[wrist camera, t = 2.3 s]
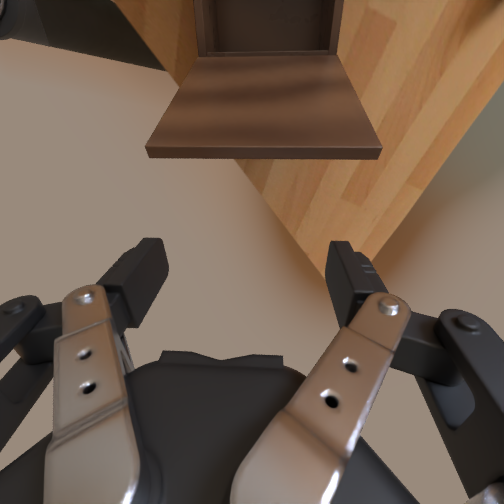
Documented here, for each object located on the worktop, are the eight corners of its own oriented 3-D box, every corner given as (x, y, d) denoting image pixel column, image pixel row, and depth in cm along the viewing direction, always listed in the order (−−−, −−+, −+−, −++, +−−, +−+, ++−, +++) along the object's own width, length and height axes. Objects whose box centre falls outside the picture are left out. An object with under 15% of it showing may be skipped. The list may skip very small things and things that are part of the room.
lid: (144, 146, 15) (148, 158, 15) (383, 147, 14) (378, 160, 14) (197, 57, 24) (198, 66, 25) (337, 54, 24) (335, 64, 24)
